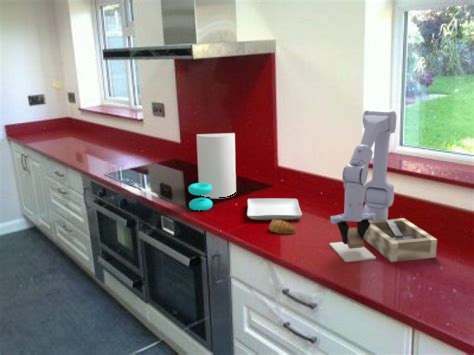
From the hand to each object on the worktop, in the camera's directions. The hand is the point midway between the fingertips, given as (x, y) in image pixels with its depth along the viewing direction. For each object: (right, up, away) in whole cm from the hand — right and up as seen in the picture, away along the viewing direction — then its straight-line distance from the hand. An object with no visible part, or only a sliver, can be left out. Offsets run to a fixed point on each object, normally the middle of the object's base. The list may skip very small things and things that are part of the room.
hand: (352, 242), depth 153 cm
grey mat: (0, -3, +1) cm, 3 cm away
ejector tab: (+16, +1, +3) cm, 16 cm away
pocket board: (+16, -2, +3) cm, 16 cm away
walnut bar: (0, +1, 0) cm, 1 cm away
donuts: (-52, +8, +48) cm, 71 cm away
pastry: (-21, +1, +21) cm, 29 cm away
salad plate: (-22, +6, +39) cm, 46 cm away
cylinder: (-46, +14, +69) cm, 84 cm away
